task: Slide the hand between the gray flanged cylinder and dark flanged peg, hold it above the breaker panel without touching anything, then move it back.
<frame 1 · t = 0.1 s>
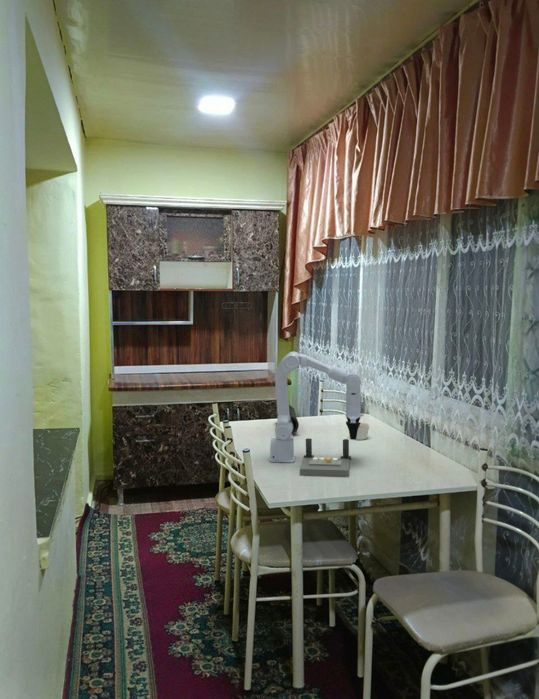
hand: (353, 436, 231), 10 cm above the table, tool pointing down, fingers open, 7 cm apart
candle: (359, 438, 266), on the table
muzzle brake: (287, 430, 285), on the table
gray flanged cylinder: (308, 458, 237), on the table
dark flanged peg: (345, 459, 235), on the table
breaker panel: (325, 470, 221), on the table
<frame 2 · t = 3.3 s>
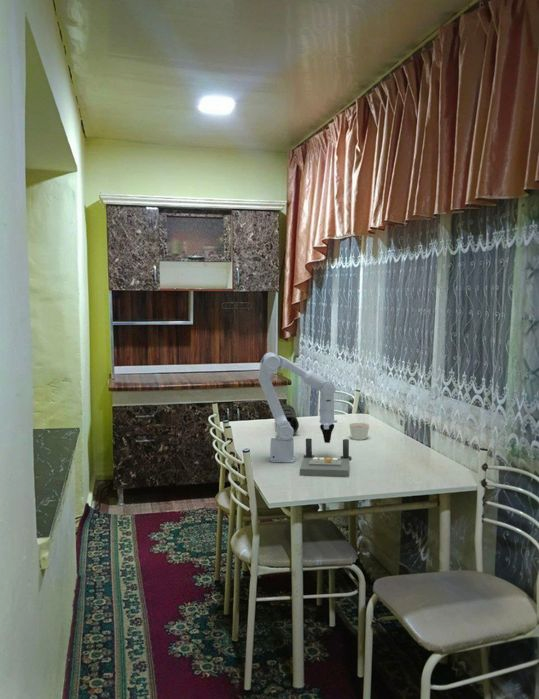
hand: (327, 442, 237), 6 cm above the table, tool pointing down, fingers closed
nothing on the table moved.
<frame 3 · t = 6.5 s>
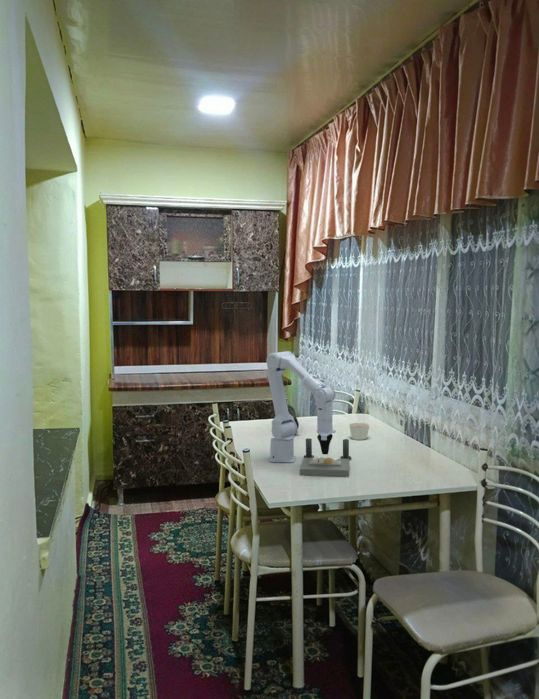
hand: (325, 453, 220), 6 cm above the table, tool pointing down, fingers closed
nothing on the table moved.
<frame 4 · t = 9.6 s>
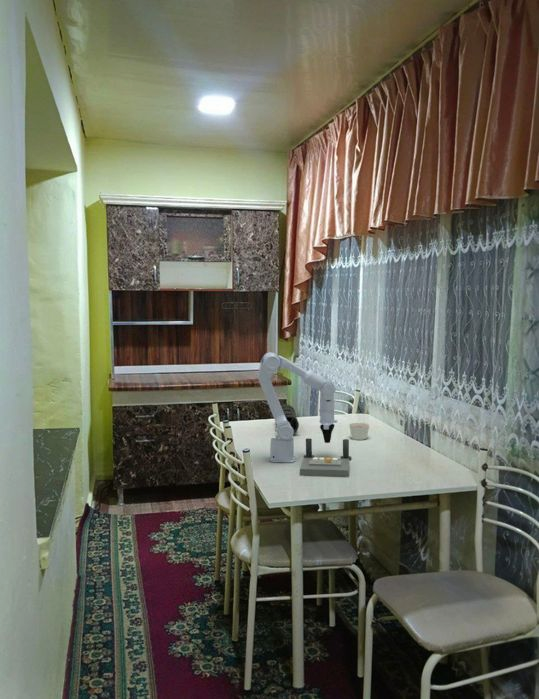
hand: (327, 442, 236), 6 cm above the table, tool pointing down, fingers closed
nothing on the table moved.
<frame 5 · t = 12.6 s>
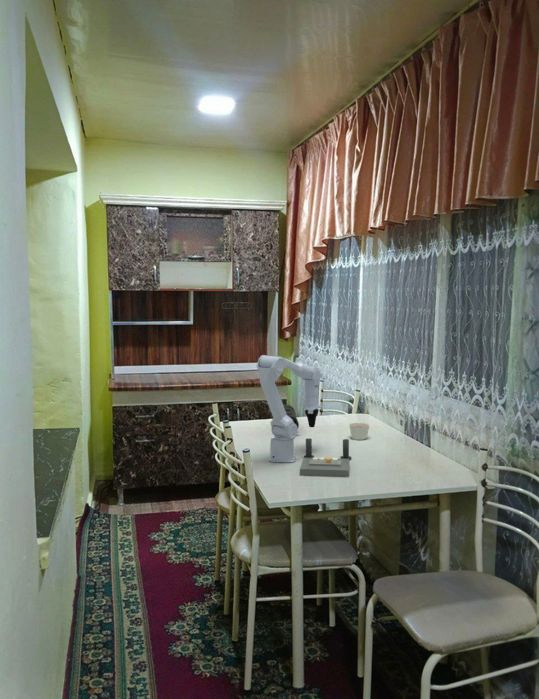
hand: (311, 426, 247), 10 cm above the table, tool pointing down, fingers closed
nothing on the table moved.
at the end: gray flanged cylinder moved 0.0 cm from its start; dark flanged peg moved 0.0 cm from its start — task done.
